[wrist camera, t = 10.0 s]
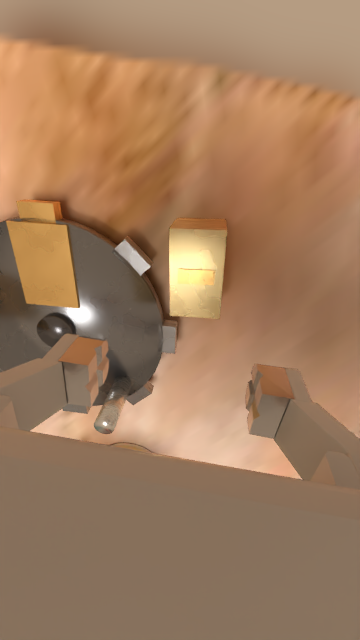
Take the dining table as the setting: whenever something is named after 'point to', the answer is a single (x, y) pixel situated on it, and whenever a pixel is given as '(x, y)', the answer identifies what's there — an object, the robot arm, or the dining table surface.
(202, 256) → the tall wooden block
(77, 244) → the sprocket
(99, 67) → the dining table surface
